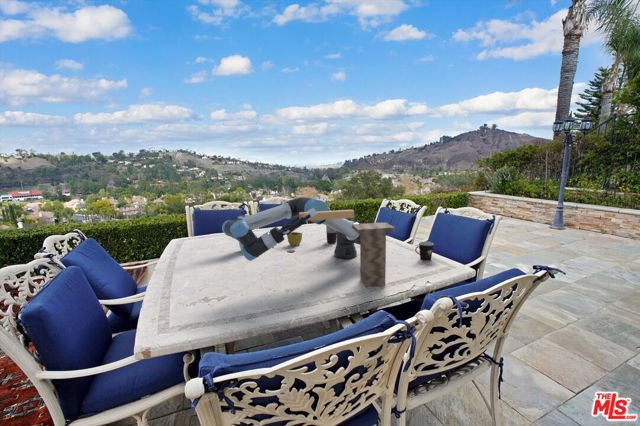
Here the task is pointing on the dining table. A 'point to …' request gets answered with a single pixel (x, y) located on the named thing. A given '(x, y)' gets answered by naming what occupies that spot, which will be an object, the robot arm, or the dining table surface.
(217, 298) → the dining table surface
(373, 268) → the walnut stand
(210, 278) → the dining table surface
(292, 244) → the flower pot
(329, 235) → the travel mug
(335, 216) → the brown block
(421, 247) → the coffee mug
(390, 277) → the dining table surface
